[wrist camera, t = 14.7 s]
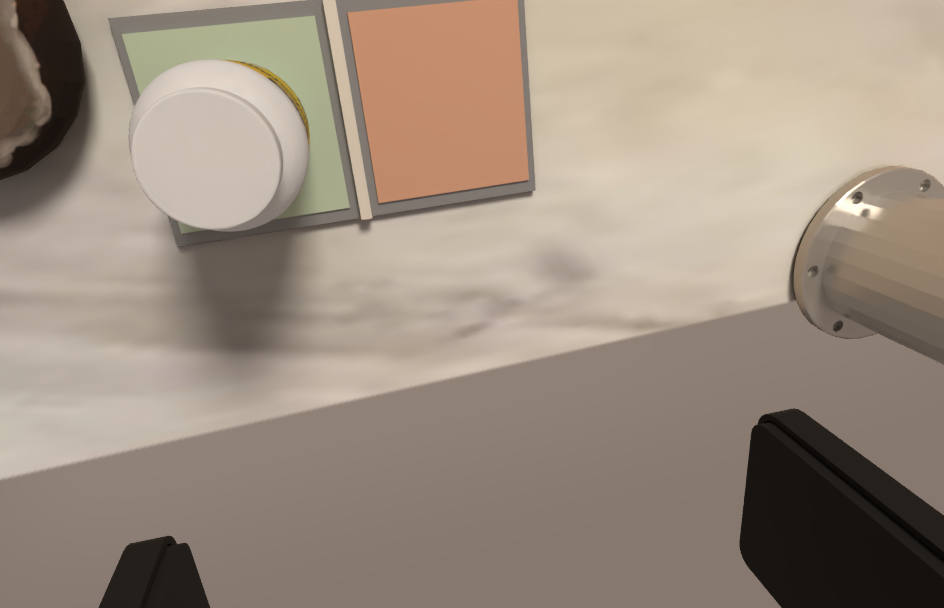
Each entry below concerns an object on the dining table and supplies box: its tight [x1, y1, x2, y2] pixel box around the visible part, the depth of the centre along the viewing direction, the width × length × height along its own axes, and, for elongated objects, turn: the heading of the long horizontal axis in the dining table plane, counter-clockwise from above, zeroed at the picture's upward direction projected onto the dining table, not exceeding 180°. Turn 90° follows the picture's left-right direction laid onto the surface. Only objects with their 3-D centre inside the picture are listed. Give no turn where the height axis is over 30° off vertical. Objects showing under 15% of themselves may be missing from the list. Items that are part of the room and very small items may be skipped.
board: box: [108, 0, 535, 247], centre depth 32 cm, size 20×11×1 cm, turn 96°
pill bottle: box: [129, 59, 310, 232], centre depth 25 cm, size 6×6×12 cm
